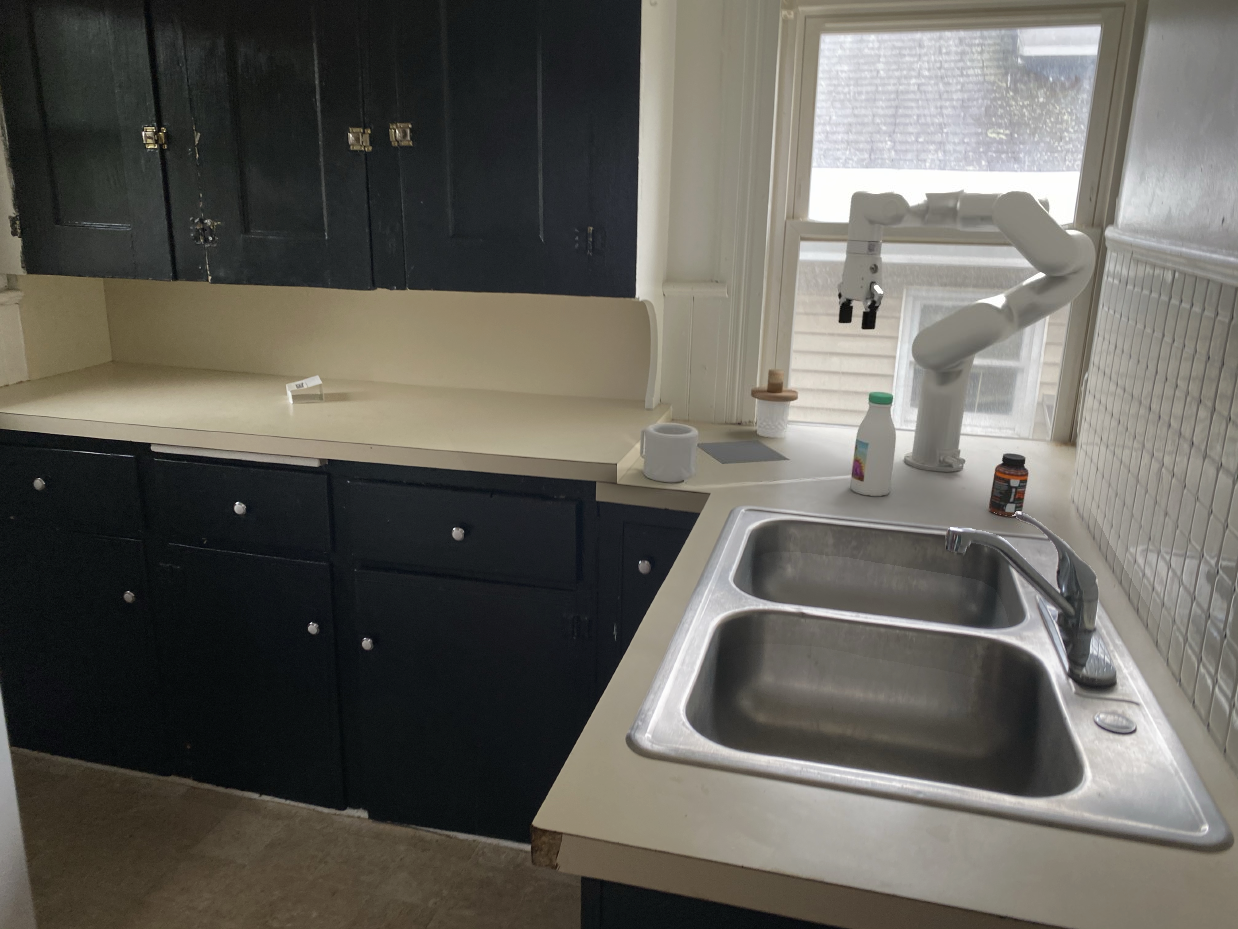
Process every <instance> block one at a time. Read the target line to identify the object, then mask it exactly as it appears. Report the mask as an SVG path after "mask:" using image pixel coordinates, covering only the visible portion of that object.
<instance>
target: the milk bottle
mask: <svg viewBox="0 0 1238 929" xmlns="http://www.w3.org/2000/svg"><path fill="white" fill-rule="evenodd" d="M893 402H894V395H893V394H892V393H889V392H882V391H872V392H870V393H869V395H868V402H867V404H868V408H867V411H866V414H865V416H864V418H863V419H862V420H861V422H860V425H859V427H858V428H857V433H856V437H855V443H854V452H853V460H852V468H851V478H850V489H851V491H852V492H854V493H856V494H859V495H862V496H863V495H864V496H867V495H870V496H869V497H883V496H882V495H884V496H886V495H888V494H889V493H890V491H891V485H892V478H893V468H894V461H895V451H896V439H897V433H896V427H895V424H894V420H893V417H892V413H891V410H892V409H891V408H892V407H893Z"/></svg>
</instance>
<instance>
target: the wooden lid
mask: <svg viewBox="0 0 1238 929" xmlns="http://www.w3.org/2000/svg"><path fill="white" fill-rule="evenodd" d="M784 376H785V371H784V370H783V369H774V368H773V369H772V368H771V369H768V374H767V386H757V387H753V388H752V389H751V391H750V397H752V398H754V399H760V400H765V401H773V402H789V401H791V402H794V401H797V400H798V398H799V392H798V391H796V390H794V389H792V388H787V387H784Z"/></svg>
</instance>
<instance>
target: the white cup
mask: <svg viewBox="0 0 1238 929" xmlns="http://www.w3.org/2000/svg"><path fill="white" fill-rule="evenodd" d="M791 402H792V401H789V402H773V401H765V400H760V399H757V400H756V403H757V404H756V434H757V435H759V436H762V437H765V438H772V439H773V438H776V439H778V438H783V437H785V436H786V432H787V431H786V430H787V428H788V422H789V415H790V406H791Z"/></svg>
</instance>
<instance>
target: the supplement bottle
mask: <svg viewBox="0 0 1238 929" xmlns="http://www.w3.org/2000/svg"><path fill="white" fill-rule="evenodd" d="M1026 458H1027V457H1025V455H1022V454H1017V453H1010V452H1008V453H1007V452H1006V453H1003V454H1002V459H1001V461H1002V462H1001V463H999V464H998V465H996V466H995V469H994V474H993V479H992V486H991V491H990V492H991V493H990V497H989V505H988V509H990V510H991V511H992V512H995V513H997V514H1001V515H1007V516H1012V515H1014V514H1015V512H1016V511H1023V509H1024V508H1023V507H1024V502H1025V496H1026V492H1027V485H1028V477H1029V470H1028V468H1026V467H1025V466H1026V465H1025V464H1026ZM990 510H989V511H990ZM991 511H990V512H991ZM992 512H991V513H992ZM995 513H994V514H995ZM997 514H996V515H997ZM1001 515H1000V516H1001ZM1013 518H1015V516H1014V517H1013Z"/></svg>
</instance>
